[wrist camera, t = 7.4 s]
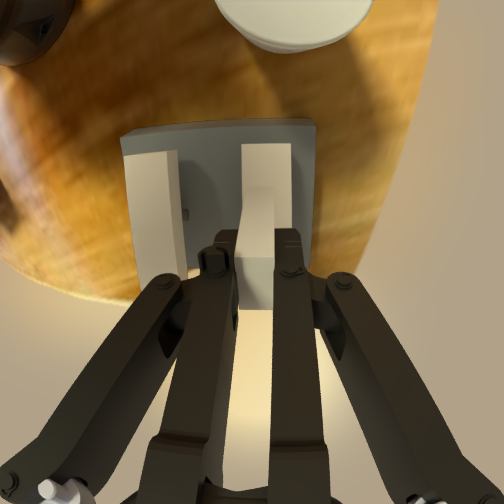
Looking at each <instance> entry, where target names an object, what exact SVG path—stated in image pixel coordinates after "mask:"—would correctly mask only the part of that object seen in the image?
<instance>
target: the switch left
mask: <svg viewBox="0 0 504 504" xmlns="http://www.w3.org/2000/svg"><path fill="white" fill-rule="evenodd" d="M124 168H125V180H126V190H127V200H128V209H129V217H130V225H131V232H132V239H133V246H134V253H135V259H136V265H137V271H138V277H139V282H140V288H141V292H142V291H143V289H144V288H145V287H146V286H147V284H148V283H149V282H150V281H151V280H152V279H153V278H154V277H155V276H158V275H160V274H164V273H173V274H176V275H178V276H179V277H180V279H181V281H182V280H186V279H188V272H187V263H186V254H185V244H184V233H183V222H182V211H181V198H180V185H179V170H178V152H177V150H171V151H160V152H151V153H141V154H134V155H128V156H124Z"/></svg>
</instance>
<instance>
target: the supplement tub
mask: <svg viewBox="0 0 504 504" xmlns="http://www.w3.org/2000/svg"><path fill="white" fill-rule="evenodd" d="M373 1H374V0H215V2H216V4H217V6H218V8H219V10H220V11H221V13H222V14H223V15H224V17H225V18H226V19H227V20H228V21H229V22H230V23H231V24H232V26H234V27H235V28H236V29H237V30H238V31H239V32H240V33H241V34H242V35H243V36H244V37H245V38H246V39H247V40H248V41H250V42H251V43H253V44H254V45H256V46H257V47H259V48H261V49H263V50H266V51H270V52H274V53H280V54H291V53H298V52H302V51H306V50H310V49H315V48H318V47H322V46H325V45H328V44H331V43H333V42H336V41H338V40H340V39H341V38H343V37H345V36H346V35H348V34H349V33H350V32H352V31H353V30H354V29H355V28H356V27H357V26H358V25H359V24H360V23H361V22H362V21H363V20H364V19H365V17H366V16H367V14H368V13H369V11H370V9H371V6H372V4H373Z"/></svg>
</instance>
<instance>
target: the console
mask: <svg viewBox="0 0 504 504" xmlns="http://www.w3.org/2000/svg"><path fill="white" fill-rule="evenodd" d="M120 143H121V149H122V154H123V160H124V156H128V155H134V154H141V153H151V152H160V151H171V150H177V152H178V170H179V185H180V198H181V211H182V222H183V233H184V244H185V254H186V263H187V268H200V267H199V262H198V256H197V255H198V253H199V252H200V251H201V250H202V249H203V248H205V247H208V246H213V243H214V239H215V235H216V234H217V233H218V232H219V231H220V230H225V229H239V225H240V219H241V214H242V150H241V144H268V143H291V187H292V228H295V229H296V230H297V231H298V232H299V233H300V235H301V242H302V250H303V257H304V265H305V267H306V269H308V268H309V265H310V252H311V238H312V222H313V204H314V183H315V156H316V125H315V123H314V122H313V120H312V119H311V118H254V119H229V120H213V121H199V122H188V123H178V124H168V125H160V126H152V127H144V128H137V129H134V130H132V131H130V132H129V133H127V134H125V135H124V136H122V137H120Z"/></svg>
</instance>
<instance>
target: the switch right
mask: <svg viewBox="0 0 504 504" xmlns="http://www.w3.org/2000/svg"><path fill="white" fill-rule="evenodd" d="M241 150H242V208H243V202H244V197H245V191H246V187H274V228H292V187H291V143H268V144H241Z"/></svg>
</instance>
